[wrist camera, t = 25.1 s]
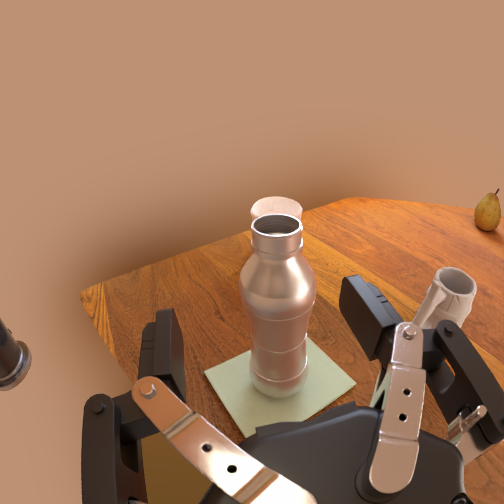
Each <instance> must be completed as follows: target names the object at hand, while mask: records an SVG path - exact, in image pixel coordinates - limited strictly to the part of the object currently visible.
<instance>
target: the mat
mask: <svg viewBox="0 0 504 504" xmlns="http://www.w3.org/2000/svg"><path fill="white" fill-rule="evenodd" d="M306 356H307V360H308V368H309V373H308V377H307V380H306V382H305V384H304V386H303V388H302V389H301V390H300V391H299V392H298V393H296V394H295V395H293V396H291V397H288V398H282V399H277V398H271V397H268V396H266V395H264V394H262V393H261V392H259V391H258V390H257V389H256V387H255V386H254V384H253V382H252V380H251V377H250V374H249V364H250V357H251V350H249V351H247V352H245V353H243V354H241V355H239V356H237V357H235V358H232V359H230V360H228V361H226V362H224V363H222V364H219V365H217V366H215V367H213V368H210V369H208V370H206V371H204V373H205V375H206V377H207V378H208V380H209V382H210V383H211V385H212V387H213V388H214V390H215V392H216V393H217V395H218V397H219V398H220V400H221V401H222V403H223V405H224V406H225V408H226V409H227V411H228V412H229V414H230V415H231V417H232V419H233V420H234V422H235V423H236V425H237V426H238V428H239V429H240V431H241V432H242V433H243V435H244V436H245V438H247V437H249V436H251V435H253V434H255V433H256V430H255V427H259V426H264V425H269V424H273V423H278V422H298V421H304V420H306V419H308V418H309V417H311V416H312V415H314V414H315V413H317V412H318V411H320V410H321V409H323V408H324V407H326V406H327V405H329V404H330V403H331V402H333V401H334V400H336V399H337V398H338V397H340V396H341V395H343V394H344V393H345V392H347V391H348V390H349V389H351V388H352V387H353V386H355V384H356V382H355V381H353V380H352V379H351V378H350V377H349V376H348V375H347V374H346V373H345V372H344V371H343V370H342V369H341V368H340V367H338V366H337V365H336V364H335V363H334V362H333V361H332V360H331V359H330V358H329V357H328V356H327V355H326V354H325V353H324V352H323V351H322V350H321V349H319V348H318V347H317V346H316V345H315V344H314V343H313V342H312V341H311V340H310V339H309V338H308V337H307V336H306Z"/></svg>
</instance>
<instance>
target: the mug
mask: <svg viewBox="0 0 504 504" xmlns="http://www.w3.org/2000/svg"><path fill="white" fill-rule="evenodd" d="M476 290H477V287H476V283H475V281H474V280H473V279H472V278H471V277H470V276H468V275H467V274H466V273H465V272H464V271H462V270H459V269H458V268H453V267H444V268H442V269H439V270H438V271H437V272H436V275H435V277H434V280H433V281H432V285H431V286H430V287H429V288H428V289H427V291H426V298H424V300H423V302H422V304H421V306H420V307H419V309H418V310H417V312H416V315H415V317H414V319H413V321H411V322H412V323H415V324H416V325H418V326H419V327H420V328H421V329H433V328H435V327H436V325H437V323H438V322H439V321H441V320H444V319H447V320H451V321H453V322H455V323H456V324H457V325H458V326H459V327H460V328H461V326H462V324H463V322H464V319H465V318H466V317H467V316H468V314H469V312H470V311H471V309H472V301H473V299H474V296H475V294H476Z"/></svg>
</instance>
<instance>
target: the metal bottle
mask: <svg viewBox="0 0 504 504" xmlns="http://www.w3.org/2000/svg"><path fill="white" fill-rule="evenodd" d="M251 231H252V239H251V249H252V251H253V252H254V253H253V254H252V255H251V257H250V258H249V259H248V261H247V262H246V264H245V265H244V267H243V268H242V270H241V273H240V278H239V282H238V289H239V293H240V298H241V301H242V304H243V307H244V310H245V313H246V316H247V320H248V324H249V330H250V335H251V357H250V364H249V374H250V377H251V380H252V382H253V384H254V386H255V387H256V389H257V390H258V391H259V392H261V393H262V394H264V395H266V396H268V397H271V398H277V399H282V398H288V397H291V396H293V395H295V394H296V393H298V392H299V391H300V390H301V389H302V388H303V386H304V384H305V382H306V380H307V377H308V373H309V368H308V360H307V356H306V336H307V330H308V323H309V318H310V315H311V311H312V308H313V304H314V300H315V296H316V290H317V281H316V277H315V274H314V271H313V269H312V267H311V266H310V264H309V263H308V261H307V260H306V259H305V257H304V256H303V255H302V254H301V253H300V252H301V251H302V248H303V239H302V224H301V222H300V221H299V220H298V219H297V218H295V217H293V216H290V215H285V214H268V215H264V216H261V217H258V218H257V219H255V220H254V221H253V222H252V226H251Z"/></svg>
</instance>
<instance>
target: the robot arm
mask: <svg viewBox="0 0 504 504" xmlns="http://www.w3.org/2000/svg"><path fill="white" fill-rule="evenodd" d="M339 308H340V311H341V313H342V315H343V317H344V318H345V320H346V322H347V323H348V325H349V327H350V328H351V330H352V332H353V333H354V335H355V337H356V338H357V340H358V342H359V343H360V345H361V347H362V348H363V350H364V352H365V354H366V355H367V357H368V359H369V361H373V360H375V359H379V361H380V363H381V364H380V368H379V372H378V377H377V382H376V386H375V390H374V394H373V398H372V401H371V403H370V405H369V407H367V406H356V404H355V401H351V402H349V403H346V404H343V405H340V406H336V407H333V408H331V409H329V410H327V411H326V412H324V413H322V414H321V415H319V416H317V417H315V418H314V419H312V420H310V421H298V422H278V423H273V424H269V425H264V426H259V427H255V430H256V433H255V434H253V435H251V436H249V437H247V438H245V439H244V440H243V441H241V442H240V443H239V444H238V445H236V444H235V443H234V442H232V441H231V440H230V439H228V438H227V437H226V436H225V435H224V434H222V433H221V432H220V431H219V430H218V429H216V428H215V427H214V426H213V425H212V424H210V423H209V422H208V421H207V420H206V419H205V418H204V417H202V416H201V415H200V414H199V413H197V412H193V411H192V410H191V409H190V408H189V407H188V406H186V405H185V404H184V403H186V390H185V372H184V347H183V337H182V332H181V329H180V326H179V323H178V320H177V317H176V314H175V311H174V309H173V308H169V309H162V310H157V312H156V322H151V323H148V324H147V325H146V327H145V329H144V330H143V333H142V343H141V351H140V361H139V373H138V380H137V382H136V383H135V384H134V385H133V387H132V390H130V391H129V392H127V393H125V394H123V395H120V396H117V397H114V398H110V397H109V396H107V395H105V394H96V395H94V396H92V397H90V398H89V399H88V400H87V402H86V404H85V406H84V416H83V428H82V451H81V452H82V453H81V480H82V503H83V504H148V500H147V493H146V485H145V478H144V468H143V458H142V446H141V439H142V438H145V437H147V436H150V435H153V434H156V433H158V432H161V433H162V434H163V435H164V437H166V439H167V440H168V441H169V442H170V443H171V444H172V445H173V446H174V447H175V448H176V449H177V450H178V451H179V452H180V453H181V454H182V455H183V456H184V457H185V458H186V459H187V460H188V461H189V462H190V463H191V464H192V465H193V466H194V467H195V468H197V469H198V470H199V471H200V472H201V473H202V474H203V475H204V476H206V477H207V478H208V479H209V480H210V481H211V482H212V484H211V486H210V487H209V489H208V490H207V492H206V493H205V495H204V497H203V498H202V500H201V501H200V503H199V504H473V503H472V501H471V500H470V499H469V498H468V497H467V495H466V493H465V488H464V466H465V465H467V464H468V463H470V462H471V461H472V460H474V459H477V458H478V457H480V456H481V455H483V454H484V453H487V452H488V451H490V450H491V449H493V448H494V447H495V446H497V445H498V444H499V443H501V442H502V441H503V440H504V392H503V390H502V388H501V387H500V385H499V383H498V382H497V380H496V379H495V377H494V376H493V374H492V372H491V371H490V369H489V368H488V366H487V365H486V363H485V362H484V361H483V359H482V358H481V356H480V355H479V353H478V352H477V350H476V349H475V348H474V346H473V345H472V343H471V342H470V341H469V339H468V338H467V337H466V335H465V334H464V333H463V331H462V330H461V329H460V327H459V326H458V325H457V324H456V323H455V322H453V321H451V320H447V319H444V320H441V321H439V322H438V323H437V325H436V327H435V328H433V329H421V328H420V327H419V326H418V325H416V324H415V323H412V322H404V321H403V319H402V318H401V317H400V315H399V314H398V313H397V312H396V310H395V309H394V308H393V306H392V305H391V304H390V303H389V302H388V300H387V299H386V298H385V296H383V294H382V293H381V291H380V290H379V289H378V288H377V287H376V286H374V285H372V284H371V283H366V282H365V281H364V280H363V279H362V277H361V276H360V275H353V276H348V277H344V278H343V280H342V286H341V292H340V298H339ZM11 334H12V333H11V331H10V330H9V329H7V327H6V326H5V324H4V323H3V321H2V320H1V318H0V382H4V381H7V380H9V379H10V378H12V377H13V376H14V375H15V374H16V373H17V372H18V370H19V369H20V367H21V365H22V363H23V359H24V352H23V349H22V348H21V347H20V345H19V344H18V343H17V342H16V340H15V339H14V338H13V337H12V335H11ZM446 359H447V360H448V362H449V364H450V365H451V367H452V368H453V370H454V372H455V376H454V375H453V373H452V371H451V370H450V368H449V367H448V365H447V364H446V362H445V360H446ZM425 382H426V383H427V385H428V387H429V389H430V391H431V392H432V394H433V396H434V398H435V400H436V402H437V404H438V405H439V407H440V409H441V411H442V413H443V415H444V417H445V419H446V421H447V423H448V428H447V436H446V440H447V441H446V440H444V439H441V438H439V437H437V436H435V435H432V434H430V433H428V432H426V431H423V430H421V429H420V423H421V416H422V409H423V401H424V392H425Z"/></svg>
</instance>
